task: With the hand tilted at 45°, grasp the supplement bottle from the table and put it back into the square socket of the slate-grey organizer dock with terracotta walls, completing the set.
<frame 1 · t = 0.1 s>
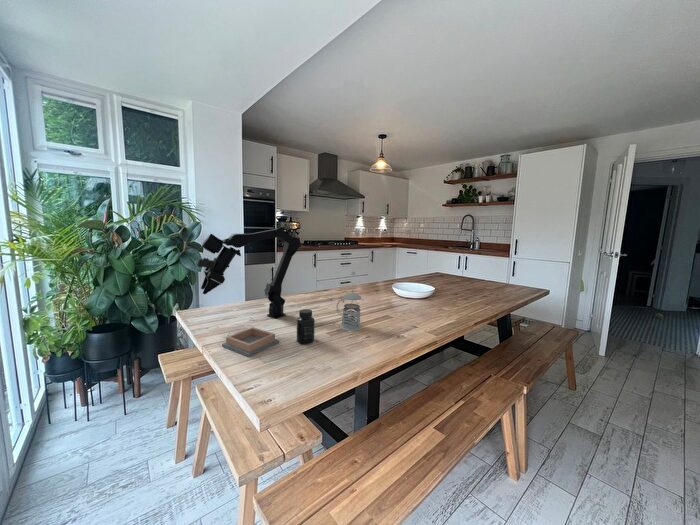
hand: (202, 291, 119), 15 cm above the table, tool tilted 35°, fingers open, 9 cm apart
dock: (251, 344, 104), on the table
supplement bottle: (305, 341, 109), on the table
french press: (349, 327, 126), on the table
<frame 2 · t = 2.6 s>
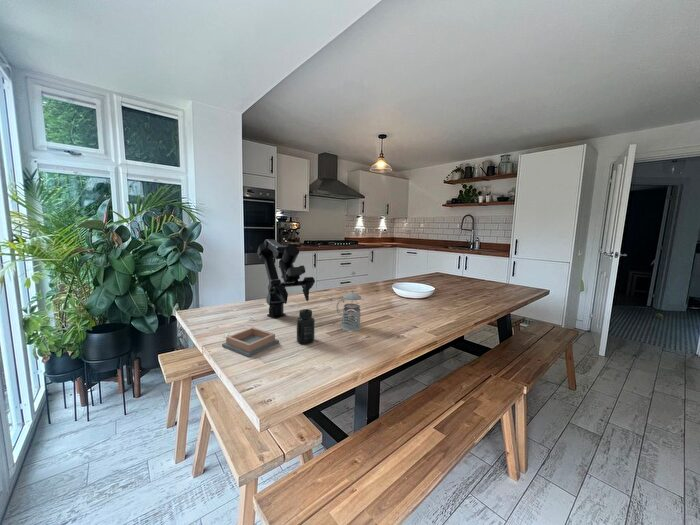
hand: (297, 302, 113), 14 cm above the table, tool tilted 45°, fingers open, 9 cm apart
nothing on the table moved.
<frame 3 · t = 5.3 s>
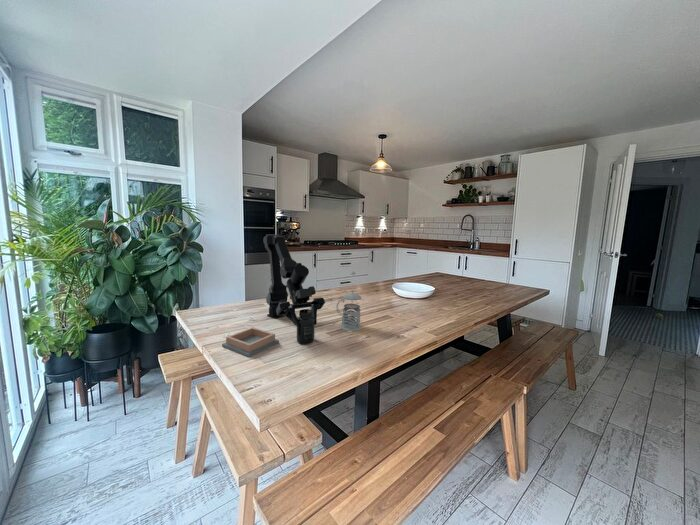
hand: (307, 325, 107), 7 cm above the table, tool tilted 45°, fingers closed on supplement bottle, 7 cm apart
supplement bottle: (305, 341, 109), on the table, touching gripper
everything else where it was.
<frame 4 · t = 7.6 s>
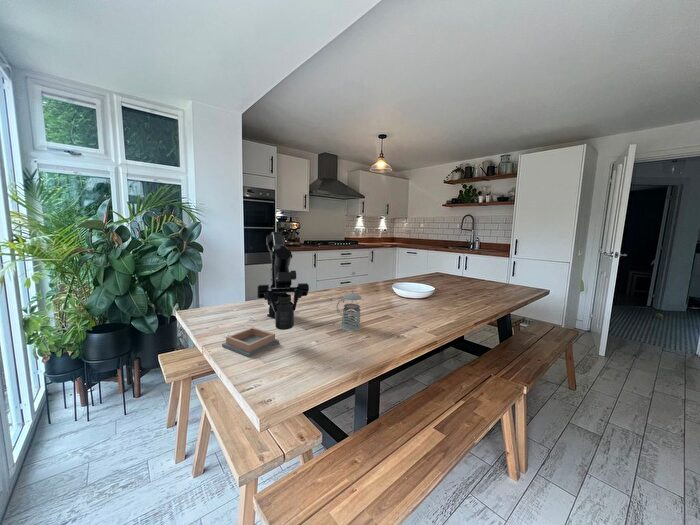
hand: (285, 310, 103), 13 cm above the table, tool tilted 45°, fingers closed on supplement bottle, 7 cm apart
supplement bottle: (284, 327, 105), point 6 cm above the table, touching gripper
everything else where it was.
when the fingers open (9 cm above the table, at t = 10.0 s): supplement bottle drops 1 cm, resting on dock.
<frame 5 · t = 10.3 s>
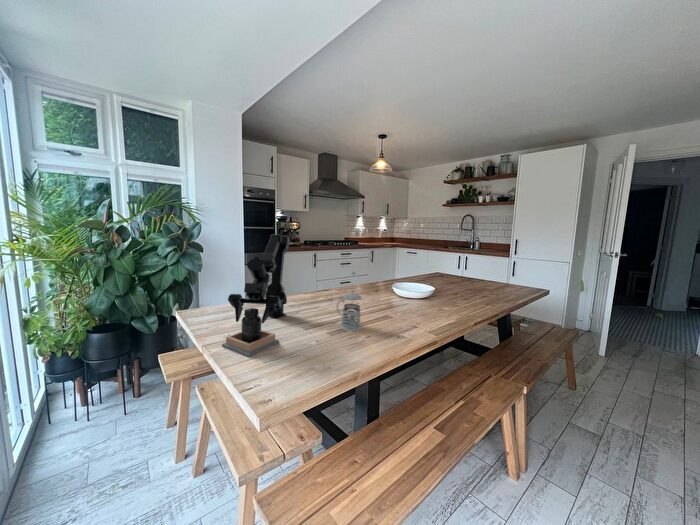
hand: (249, 322, 102), 9 cm above the table, tool tilted 45°, fingers open, 9 cm apart
supplement bottle: (251, 342, 104), point 1 cm above the table, touching dock
everything else where it was.
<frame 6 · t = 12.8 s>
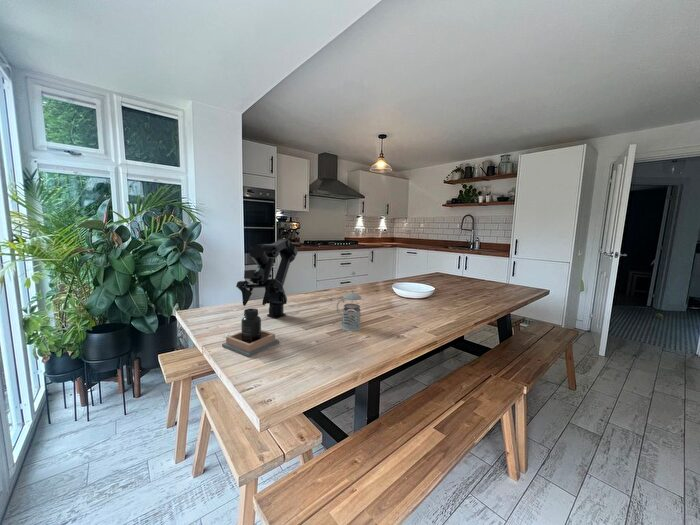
hand: (253, 305, 112), 12 cm above the table, tool tilted 40°, fingers open, 9 cm apart
nothing on the table moved.
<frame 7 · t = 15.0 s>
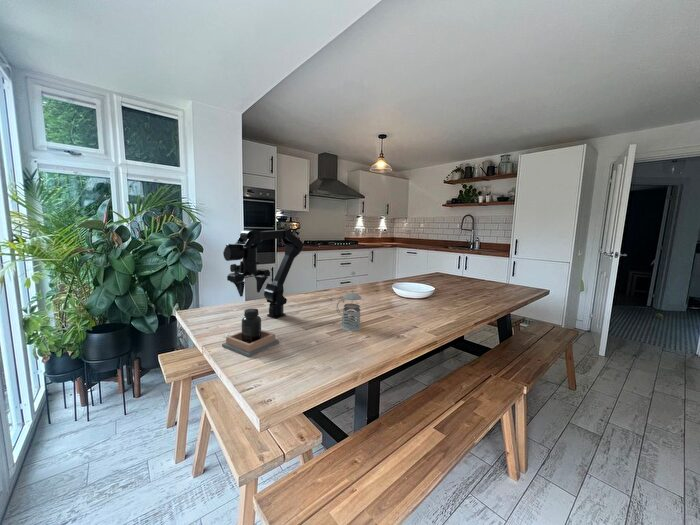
hand: (250, 294, 124), 13 cm above the table, tool pointing down, fingers open, 9 cm apart
nothing on the table moved.
at the end: supplement bottle 0.3 cm off-centre on the dock, point 0.8 cm above the dock's base; supplement bottle tilted 0°; the gripper is holding nothing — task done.
